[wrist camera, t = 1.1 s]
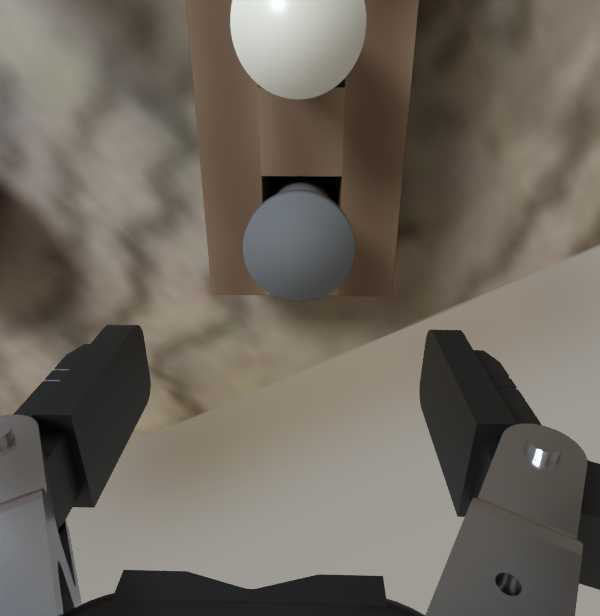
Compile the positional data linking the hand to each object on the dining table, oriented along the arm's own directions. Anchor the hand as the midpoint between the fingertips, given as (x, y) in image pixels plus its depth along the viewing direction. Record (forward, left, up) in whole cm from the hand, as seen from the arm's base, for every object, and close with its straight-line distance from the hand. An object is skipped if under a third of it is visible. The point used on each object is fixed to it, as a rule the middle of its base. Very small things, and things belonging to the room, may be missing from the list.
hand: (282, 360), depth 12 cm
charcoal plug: (0, 0, -16) cm, 16 cm away
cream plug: (0, -8, -16) cm, 17 cm away
